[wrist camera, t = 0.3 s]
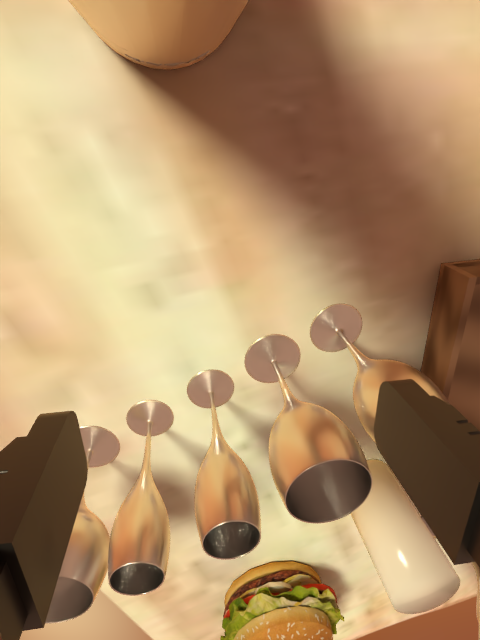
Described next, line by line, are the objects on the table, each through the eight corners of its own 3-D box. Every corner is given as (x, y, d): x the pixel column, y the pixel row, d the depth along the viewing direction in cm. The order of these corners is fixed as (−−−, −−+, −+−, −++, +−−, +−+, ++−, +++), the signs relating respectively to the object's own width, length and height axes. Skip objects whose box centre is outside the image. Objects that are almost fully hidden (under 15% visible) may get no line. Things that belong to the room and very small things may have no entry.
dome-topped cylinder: (340, 464, 38) (397, 579, 29) (393, 455, 39) (467, 565, 29) (337, 502, 41) (388, 619, 31) (387, 493, 41) (452, 605, 32)
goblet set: (352, 285, 30) (468, 389, 18) (371, 342, 32) (484, 464, 21) (39, 439, 32) (-40, 623, 20) (82, 480, 34) (35, 664, 23)
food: (344, 548, 45) (376, 626, 38) (307, 617, 51) (328, 696, 44) (231, 547, 42) (242, 632, 35) (204, 621, 47) (209, 707, 40)
